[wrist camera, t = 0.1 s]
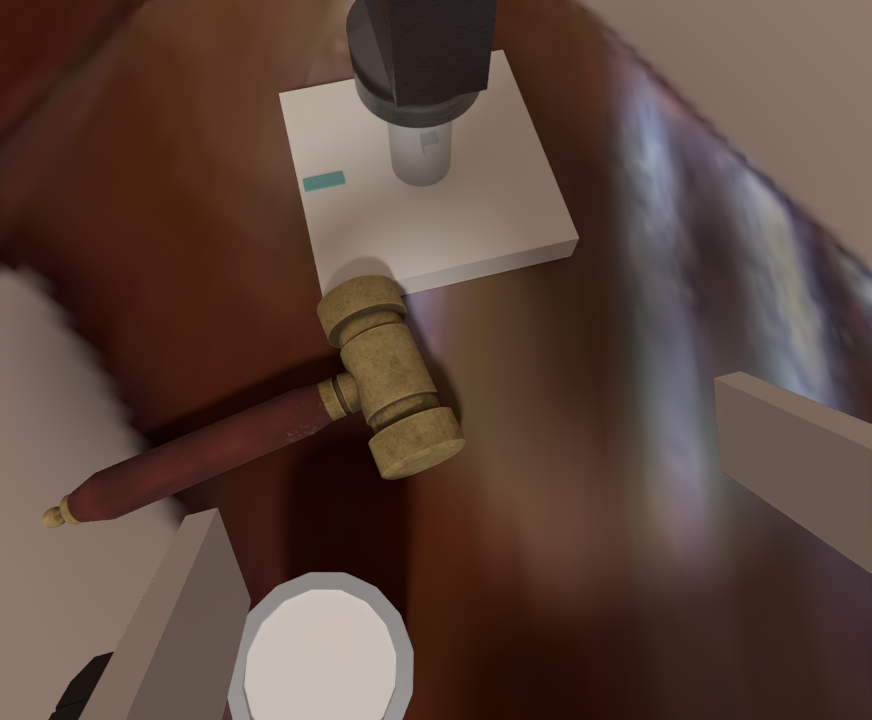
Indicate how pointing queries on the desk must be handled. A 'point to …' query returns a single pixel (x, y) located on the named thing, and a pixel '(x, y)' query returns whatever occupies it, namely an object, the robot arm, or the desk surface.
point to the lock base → (425, 188)
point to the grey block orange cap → (420, 57)
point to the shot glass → (323, 654)
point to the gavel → (300, 413)
